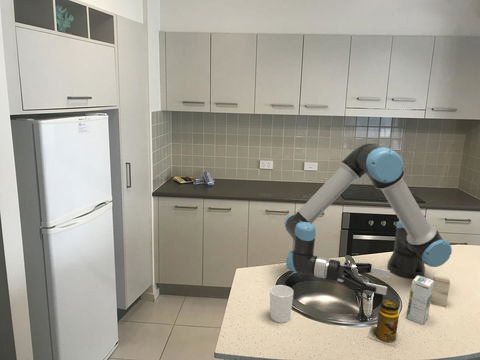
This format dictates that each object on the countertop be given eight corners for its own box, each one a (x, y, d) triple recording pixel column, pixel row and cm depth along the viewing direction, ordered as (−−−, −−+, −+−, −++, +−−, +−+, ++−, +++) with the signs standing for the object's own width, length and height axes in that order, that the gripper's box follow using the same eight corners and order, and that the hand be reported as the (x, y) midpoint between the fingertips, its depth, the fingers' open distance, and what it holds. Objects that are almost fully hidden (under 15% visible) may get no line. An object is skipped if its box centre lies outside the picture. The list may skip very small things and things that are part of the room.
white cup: (285, 309, 139) (286, 283, 137) (295, 321, 132) (297, 294, 130) (264, 313, 137) (266, 286, 134) (274, 325, 130) (276, 298, 127)
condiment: (395, 346, 121) (399, 311, 118) (366, 337, 125) (370, 303, 122) (398, 334, 127) (402, 300, 124) (371, 326, 131) (375, 293, 128)
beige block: (430, 297, 150) (434, 273, 148) (445, 300, 148) (449, 276, 146) (430, 304, 146) (434, 279, 143) (445, 307, 144) (449, 282, 141)
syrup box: (410, 311, 140) (416, 274, 137) (428, 317, 137) (434, 280, 133) (405, 318, 136) (411, 280, 132) (423, 325, 132) (430, 286, 129)
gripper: (333, 265, 158) (389, 277, 150) (319, 293, 136) (383, 309, 127) (335, 247, 156) (392, 259, 148) (321, 273, 134) (386, 288, 126)
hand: (388, 282), depth 138 cm, fingers open, 13 cm apart
